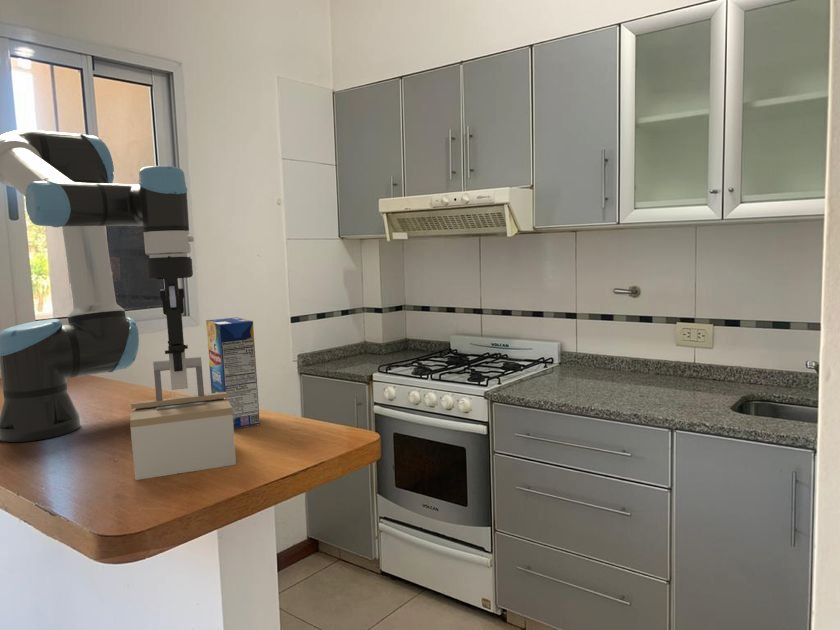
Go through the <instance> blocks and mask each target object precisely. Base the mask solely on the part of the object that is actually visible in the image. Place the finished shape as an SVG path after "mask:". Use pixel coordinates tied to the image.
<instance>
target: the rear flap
mask: <svg viewBox="0 0 840 630" xmlns="http://www.w3.org/2000/svg"><path fill="white" fill-rule="evenodd" d="M185 358H186V357H185ZM152 365H153V374H154V375H153V376H154V389H155V399H151V400H142V401H134V402H132V403H131V410H134V409H136V408H144V407H152V406H161V405H169V404H178V403H186V402H195V401H203V400H212V399H220V398H228V393H226V392H220V393H205V390H204V389H205V388H204V377H203V365H202V357H201V356H197V357H187V358H186V369H195V373H196V374H195V375H196V385H197V386H196V387H197V388H196V389H197V394H196V395H187V396H178V397H169V398H163V388H162V375H161V372H164V371H170V363H169V359H166V360H157V361H156V360H155V361H153V362H152Z"/></svg>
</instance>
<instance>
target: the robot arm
mask: <svg viewBox="0 0 840 630" xmlns="http://www.w3.org/2000/svg"><path fill="white" fill-rule="evenodd" d="M109 149H110V148H109V147H108V145H107V144H106V143H105V142H104V141H103V139H101V138H100V137H97V136H96V135H90V134H89V135H88V134H83V133H80V132H79V133H78V132H77V133H73V132H72V133H71V132H61V131H60V132H59V131H48V130H47V131H45V130H34V129H17V130H12V131H9V132H5V133H3V134H1V135H0V183H1V184H3V185H5V186H8V187H11V188H14V189H16V190H17V191H18V192H19V193H20V194H22V196H24V197H25V199H24V201H25V208H26V213H27V215H28V217H29V218H28V219H29V220H30V221H31V223H33V225H36V226H38V227H40V226H41V227H52V228H60V227H61V228H62V234H63V235H62V236H63V242H64V249H65V257H66V261H67V268H68V275H69V282H70V288H71V289H70V290H71V296H72V302H73V309H72V310H71V312H70V313H69V314H68V315H67V323H68V324H63V323H62V322H61V320H60V319H58V318H49V319H43V320H37V321H35V320H34V321H29V322H26V323H21V324H17V325H13V326H11V327H10V326H9V327H8V328H5V329H3V330H2V331H1V332H0V374H1V383H2V384H1V385H2V393H3V404H2V408H1V412H0V441H1V442H8V443H11V442H12V443H19V442H21V443H22V442H24V443H25V442H33V441H38V440H39V441H40V440H46V439H51V438H55V437H59V436H62V435H66V434H69V433H72V432H74V431H76V430H78V429H79V428H80V427H81V420H80V414H79V412H78V410H77V408H76V406H75V405H74V402H73V400H72V398H71V395H70V394H69V391H68V380H67V379H70V378H71V379H73V378H78V377H84V376H91V375H97V374H105V373H114V372H116V371H121V370H126V369H128V368H130V367H131V366H132V365H133V364H134V363H135V360H136V358H137V356H138V352H139V346H140V335H139V334H140V333H139V329H138V326H137V323H136V320H134V319H133V318H131V317H129V316H127V317H126V310H125V309H124V308H123V307H122V306H120V305H119V304H118V303H117V300H116V293H115V287H114V278H113V272H112V266H111V258H110V253H109V245H108V239H107V233H106V227H131V228H138V227H139V228H143V244H144V252H145V255H146V256H148V257H149V258H147V260H146V262H145V263H146V272H147V273H146V274H147V279H150V280H163V282H164V289H159V295H160V297H159V298H160V300H161V302H162V313H163V315H164V316H166V325H167V338H168V341H167V344H168V347H167V349H168V350H167V349H166V350H164V354H165V355H168V360H169V363H170V370H169V373H170V385H171V391H177V390H184V389H185V390H186V389H189V387H188V385H189V384H188V375H187V374H188V372H187V370H188V369H187V368H186V351H185V350H187V349H189V346H188V344H185V343H184V342H185V341H184V327H183V326H184V325H183V313H185V306H184V298H185V288H184V287H181V288H180V287H179V279H188V278H192V277H193V275H194V273H193V272H194V271H193V270H194V269H193V259H192V258H191V256H188V254H190V253H191V243H193V242H194V240H195V238H194V236H193V235H192V236H191V235H190V227H189V226H190V223H189V220H190V219H189V208H188V205H189V204H188V193H187V192H188V188H187V184H186V176H185V171H183V169H182V168H180V167H177V166H171V165H152V166H151V165H149V166H144V167H142V168H140V170H139V171H138V176H139V177H138V180H137V181H138V184H131V183H130V184H128V183H126V184H125V183H113V182H114V178H115V176H114V172H115V169H114V161H113V158H112V155H111V152H110V150H109ZM189 235H190V236H189Z"/></svg>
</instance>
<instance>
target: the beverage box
mask: <svg viewBox="0 0 840 630" xmlns="http://www.w3.org/2000/svg"><path fill="white" fill-rule="evenodd" d="M205 322H206V323H205V325H206V326H205V327H206V337H207V339H206V340H207V350H208V351H207V353H208V362H209V363H208V364H209V377H210V390H211V391H210V392H211V393H220V392H226V393H228V398H225V399H226V400H229V402H230V405H231V407H232V415H233V428H234V430H236V429H242V427H243V428H248V427H253V426H252V425H254V426H258V425H257V424H259V425H261V422H260V421H261V420H260V408H259V405H260V404H259V392H258V390H259V389H258V376H257V374H258V373H257V363H256V359H257V358H256V348H255V347H256V346H255V333H254V332H255V331H254V321H253V320H249V319H245V318H242V317H237V316H236V317H229V318H219V319H218V318H217V319H215V318H214V319H207V320H205ZM211 393H210V394H211ZM247 426H248V427H247Z"/></svg>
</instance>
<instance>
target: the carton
mask: <svg viewBox="0 0 840 630" xmlns="http://www.w3.org/2000/svg"><path fill="white" fill-rule="evenodd" d="M129 425H130V435H131V436H130V437H131V449H132V458H133V470H134V472H133V473H134V480H135V481H139V480H145V479H153V478H159V477H165V476H166V477H167V476H171V475H177V474H178V473H179V474H184V473H190V472H196V471H203V470H209V469H210V470H211V469H216V468H224V467H230V466H235V465H236V466H237V459H236V458H237V457H236V447H235V446H236V444H235V431H234V430H235V429H234V428H233V415H232V407H231V405H230V402H229V400H226V399H225V398H220V399H212V400H203V401H195V402H186V403H178V404H169V405H161V406H152V407H144V408H136V409H133V410H131V413H130V417H129ZM179 474H178V475H179Z"/></svg>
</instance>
